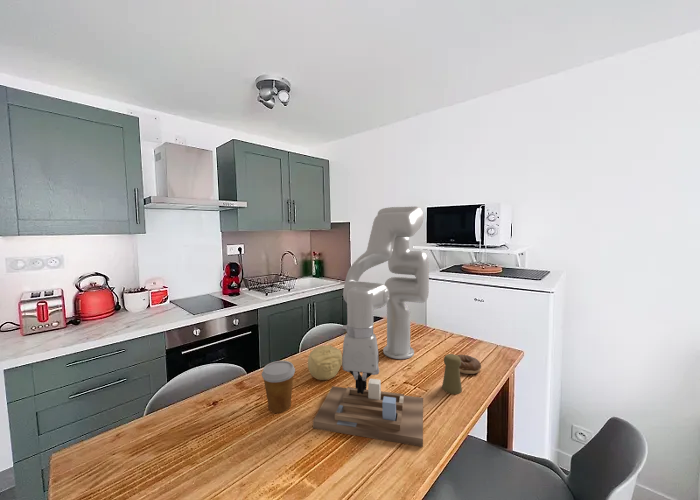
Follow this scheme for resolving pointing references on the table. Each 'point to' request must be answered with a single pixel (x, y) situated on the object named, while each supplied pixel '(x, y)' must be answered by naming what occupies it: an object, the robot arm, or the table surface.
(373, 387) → the cream tab
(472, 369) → the donut
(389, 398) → the slate-blue tab
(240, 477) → the table surface
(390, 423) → the switch board
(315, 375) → the sculpture
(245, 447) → the table surface
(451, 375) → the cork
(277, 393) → the disposable coffee cup
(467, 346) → the table surface
